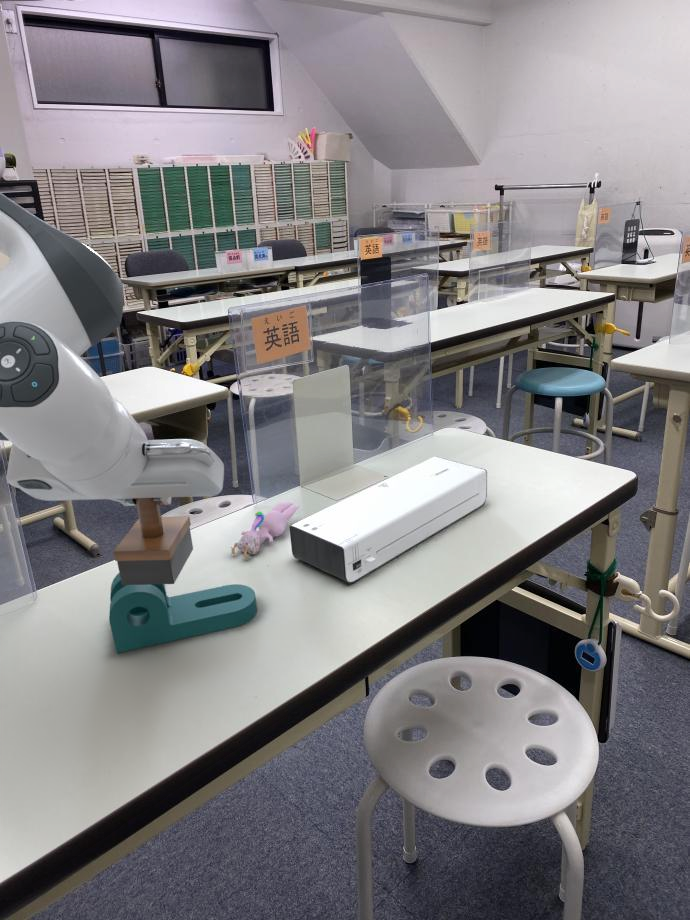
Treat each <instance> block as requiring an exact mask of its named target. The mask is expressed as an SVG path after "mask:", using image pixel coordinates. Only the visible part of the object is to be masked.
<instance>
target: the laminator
mask: <svg viewBox="0 0 690 920" xmlns="http://www.w3.org/2000/svg"><path fill="white" fill-rule="evenodd" d="M487 497H488V471H487V469H485V468H481V467H478V466H473V465H470V464H466V463H462V462H459V461H454V460H451V459H447V458H443V457H440V456H436V455H435V456H433V457H431V458H429V459H427V460H424V461H422V462H420V463H418V464H416V465H414V466H412V467H410V468H408V469H406V470H403V471H402V472H400V473H397V474H395V475H393V476H392V477H391V476H390V477H389V478H387V479H385V480H383V481H381V482H378V483H376V484H375V485H372V486H370V487H368V488H365V489H363V490H361V491H359V492H357V493H356V494H354V495H352V496H349V497H347V498H345V499H344V500H341V501H339V502H336V503H335V504H333V505H330V506H328V507H326V508H324V509H322V510H320V511H318V512H316V513H314V514H312V515H309V516H308V517H306V518H303V519H302V520H299V521H298V522H295V523H293V524H291V525H290V526H289V538H290V546H291V554H292V556H293V558H294V559H295V560H299V561H302V562H304V563H306V564H307V565H308V564H309V565H311V566H313V567H314V568H316V569H318V570H320V571H323V572H325V573H327V574H329V575H332V576H334V577H336V578H337V579H340V580H342V581H344V582H345V583H346V584H349V585H351V584H354V583H357V582H358V581H360V580H361V579H363V578H364V577H366V576H368V575H370V574H371V573H373V572H375V571H376V570H378V569H380V568H381V567H383V566H385V565H386V564H388V563H389V562H391V561H393V560H395V559H396V558H399V556H402V555H403V554H405V553H406V552H408V551H409V550H411V549H413V548H415V547H417V546H418V545H420V544H421V543H423V542H425V541H427V540H428V539H430V538H432V537H433V536H435V535H436V534H439V533H441V532H442V531H443V530H445V529H447V528H449V527H450V526H451V525H453V524H455V523H456V522H458V521H461V520H462V519H463V518H465V517H467V516H468V515H470V514H471V513H473V512H475V511H476V510H478V509H480V508H481V507H483V506H484V505H485V503H486V501H487Z"/></svg>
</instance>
